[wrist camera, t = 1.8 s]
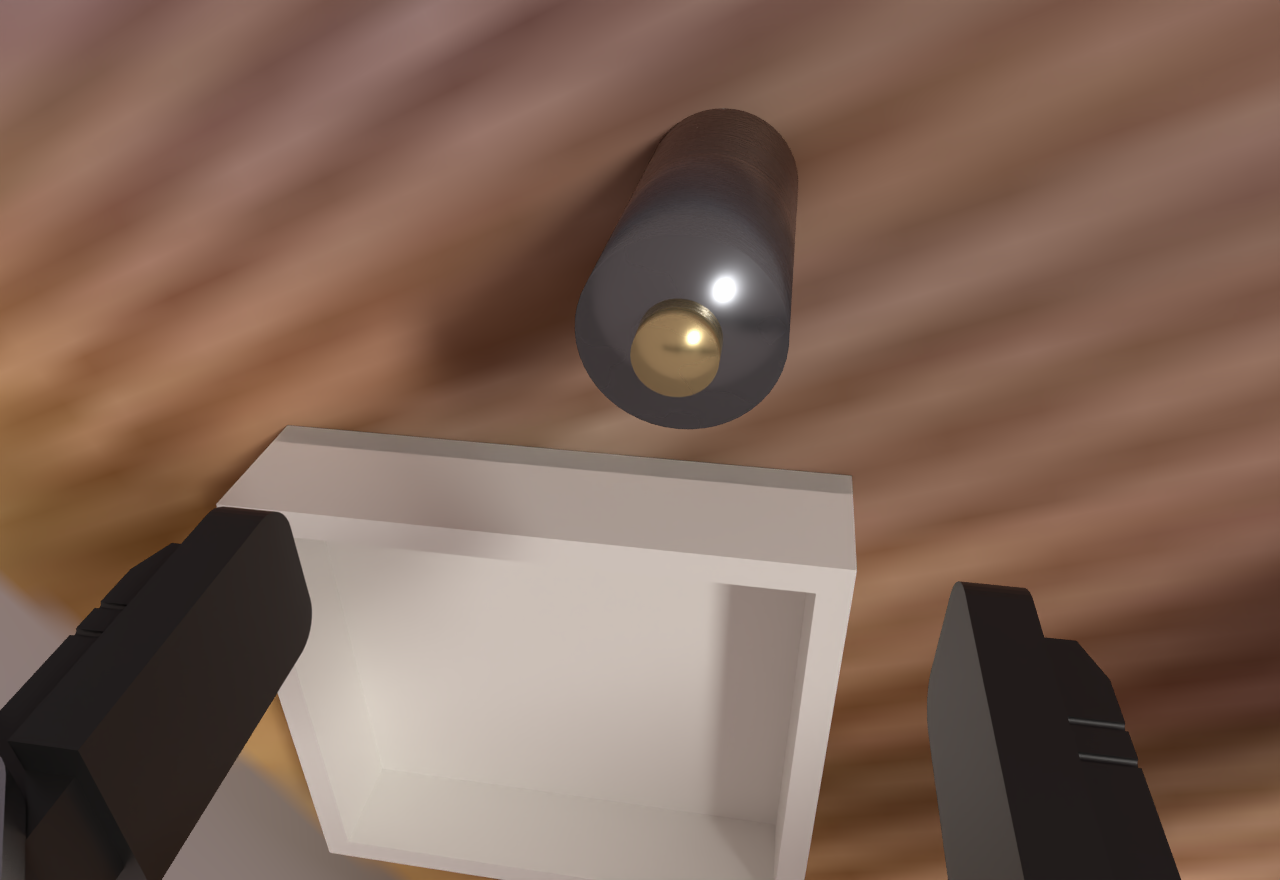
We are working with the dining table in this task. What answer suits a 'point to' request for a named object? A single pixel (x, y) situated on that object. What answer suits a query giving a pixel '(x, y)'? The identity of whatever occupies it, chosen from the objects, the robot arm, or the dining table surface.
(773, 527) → the white square tray
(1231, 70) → the dining table surface
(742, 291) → the cell
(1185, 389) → the dining table surface
